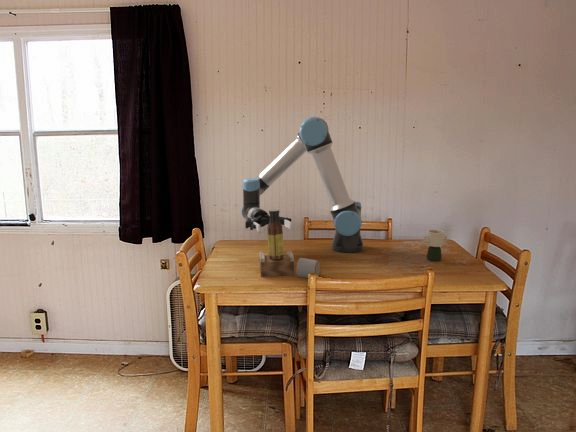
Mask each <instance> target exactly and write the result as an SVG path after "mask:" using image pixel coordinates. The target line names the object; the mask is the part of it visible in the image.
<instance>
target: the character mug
mask: <svg viewBox="0 0 576 432" xmlns="http://www.w3.org/2000/svg"><path fill="white" fill-rule="evenodd" d="M422 242H423V243H424V244H426V245H427V246H428V249H427V253H426V259H428V260H430V259H431V260H430V261H435V260H437V261H441V260H442V248H441V247H443V246H444V244H445V243H447V242H448V235H447V234H445V231H444V230H441V229H428V230H427V231H426V235H424V236H423V241H422Z"/></svg>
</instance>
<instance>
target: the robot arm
mask: <svg viewBox="0 0 576 432" xmlns="http://www.w3.org/2000/svg"><path fill="white" fill-rule="evenodd" d="M332 145H333V140H332V137H331V135H330V131H329V126H328V123H327V122H326V121H325V119H323V118H321V117H317V116H311V117H308V118H306V119H305V120H304V121H302V123H301V125H300V127H299V132H298V133H297V134H296V138H295V139H294V140H293V141H292V142H291V143H290V144H289V145H288V146H287V147H286V148H285V149H284V150H283V151H282V152H281V153H279V155H277V156H276V157H275V158H274V159H273V160H272V162H270V163H269V164H268V166H267V167H265V168H264V169H263V170H262V172H260V173H259V174H258V175H257V176H256V177H255V178H245V179H243V180H242V181H243V182H242V196H243V197H242V198H243V199H242V202H243V203H242V204H243V205H242V207H241V209H240V214H241V216H242V218H244V220H245V222H244V223H245V224H244V225H245V229H249V231H253V230H255V231H257V232H258V233H261V228H263V227H265V226H268V224H269V222H270V214H269V212H268V211H265V210H264V209H263V208H261V206H260V205H261V203H260V201H261V200H260V197H261V195H263V194H264V193H265V192H266V191H267V190H268V189H269V188H270V186H272V185H273V184H274V183H275V182H276V181H277V180H278V179H279V178H280V177H281V176H282V175H284V173H286V171H287V170H289V169H290V167H291V166H293V164H295V163H296V162H297V161H298V160H299V159H300V158H301V157H302V156H303V155H304V154H305V153H306V152H307V153H308V154H310V155H312V158H313V159H314V160H313V161H314V162H315V166H316V168H317V170H318V174H319V176H320V179H321V181H322V183H323V186H324V188H325V192H326V194H327V197H328V200H329V202H330V209H329V212H330V214H331V217H332V219H333V225H334V228H335V234H334V237H333V239H332V241H331V249H332V250H333V251H335V252H340V253H358V252H362V251H363V250H364V241H363V238H362V235H361V228H362V227H361V226H362V223H363V222H362V203H361V202H360V201H355V200H354V199H352V198H351V197H350V196H349V193H348V191H347V190H348V189H347V188H346V184H345V182H344V180H343V177H342V173H341V172H340V169H339V165H338V163H337V161H336V158H335V155H334V153H333V150H332ZM279 221H280V223H281V225H282V226H284V227H286V228H287V229H289V230H293V221H292V218H289V217H285V216H284V217H283V216H279Z"/></svg>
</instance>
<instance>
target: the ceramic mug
mask: <svg viewBox="0 0 576 432" xmlns="http://www.w3.org/2000/svg"><path fill="white" fill-rule="evenodd" d="M295 271H296V276H297V277H298V278H304V279H309V278H308V274H310V273H314V274H316V275H317V276H318V277H319V276H320V272H321V263H320V261H318V260H316V259H310V258H303V257H299V258H298V260H297V263H296V270H295Z"/></svg>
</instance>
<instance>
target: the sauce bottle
mask: <svg viewBox="0 0 576 432" xmlns="http://www.w3.org/2000/svg"><path fill="white" fill-rule="evenodd" d="M268 215H269V216H270V222H269V224H268V225H266V227H267V253H268V254H267V255H269V258H270V259H272V260H280V259H283V257H284V255H285V250H284V246H285V245H284V231H283V225H281V223H280V221H279V217H280V209H277V208H273V209H269V211H268Z"/></svg>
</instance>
